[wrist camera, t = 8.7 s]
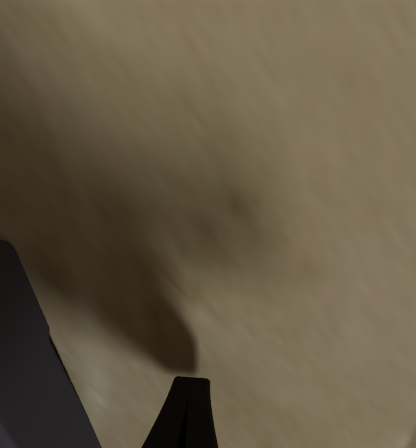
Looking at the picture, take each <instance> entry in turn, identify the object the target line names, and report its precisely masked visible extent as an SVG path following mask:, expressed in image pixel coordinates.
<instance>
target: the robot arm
mask: <svg viewBox="0 0 416 448" xmlns="http://www.w3.org/2000/svg"><path fill="white" fill-rule="evenodd" d="M142 448H218V444H217V439H216V434H215V428H214V422H213V415H212V408H211V398H210V381H209V380H208V379H206V378H194V377H181V376H177V377H175V378H174V381H173V383H172V386H171V389H170V391H169V393H168V396H167V398H166V400H165V403H164V405H163V407H162V409H161V411H160V413H159V415H158V417H157V419H156V421H155V423H154V425H153V427H152V429H151V431H150V433H149V435H148V437H147V439H146V440H145V442H144V444H143V446H142Z"/></svg>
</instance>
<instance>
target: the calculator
mask: <svg viewBox="0 0 416 448" xmlns="http://www.w3.org/2000/svg"><path fill="white" fill-rule="evenodd" d="M0 448H101V445H100V443H99V441H98V439H97V436H96V434H95V432H94V429H93V427H92V425H91V423H90V420H89V418H88V416H87V414H86V412H85V410H84V407H83V405H82V403H81V401H80V399H79V397H78V395H77V393H76V391H75V389H74V387H73V385H72V383H71V382H70V380H69V378H68V376H67V374H66V372H65V370H64V368H63V366H62V364H61V362H60V360H59V358H58V356H57V354H56V352H55V350H54V348H53V346H52V344H51V342H50V340H49V326H48V323H47V321H46V319H45V316H44V314H43V312H42V310H41V307H40V305H39V303H38V300H37V298H36V296H35V293H34V291H33V289H32V287H31V284H30V282H29V280H28V277H27V275H26V273H25V270H24V268H23V266H22V264H21V261H20V259H19V257H18V255H17V252H16V250H15V248H14V247H13V246H12V245H11V244H10V243H9V242H7V241H5V240H0Z"/></svg>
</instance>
